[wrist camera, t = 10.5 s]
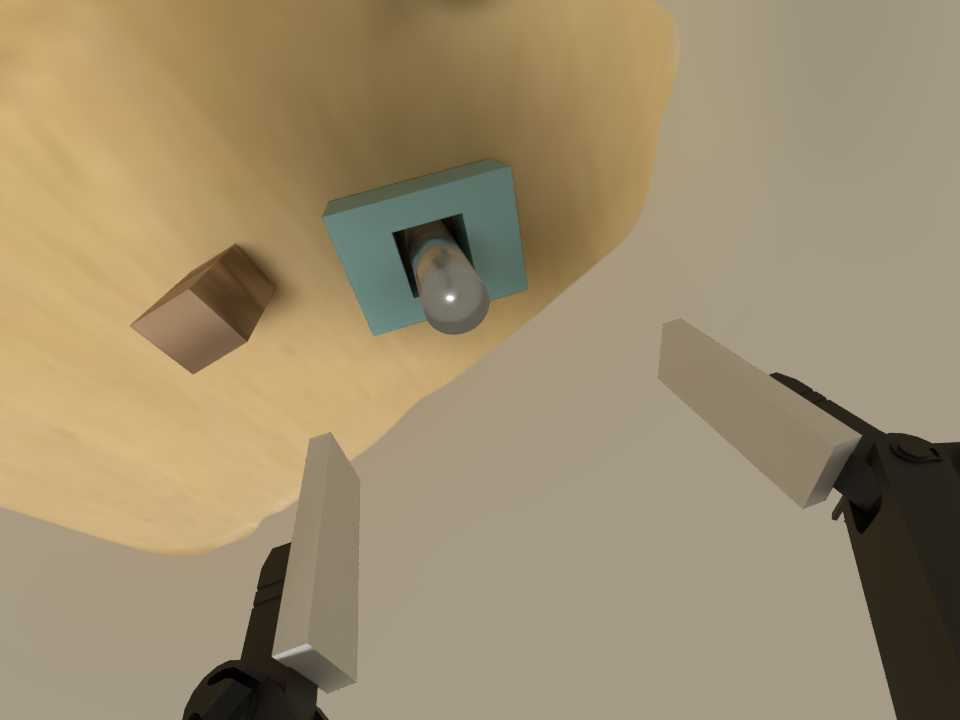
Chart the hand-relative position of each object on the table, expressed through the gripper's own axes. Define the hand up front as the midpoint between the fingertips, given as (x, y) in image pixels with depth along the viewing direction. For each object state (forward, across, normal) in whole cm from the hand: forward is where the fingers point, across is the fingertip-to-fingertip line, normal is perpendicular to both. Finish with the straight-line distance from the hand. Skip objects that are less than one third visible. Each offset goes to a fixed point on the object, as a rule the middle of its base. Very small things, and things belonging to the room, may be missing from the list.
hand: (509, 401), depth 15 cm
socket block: (+25, 0, 0) cm, 25 cm away
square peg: (+25, -17, +1) cm, 30 cm away
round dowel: (+25, 0, 0) cm, 25 cm away
